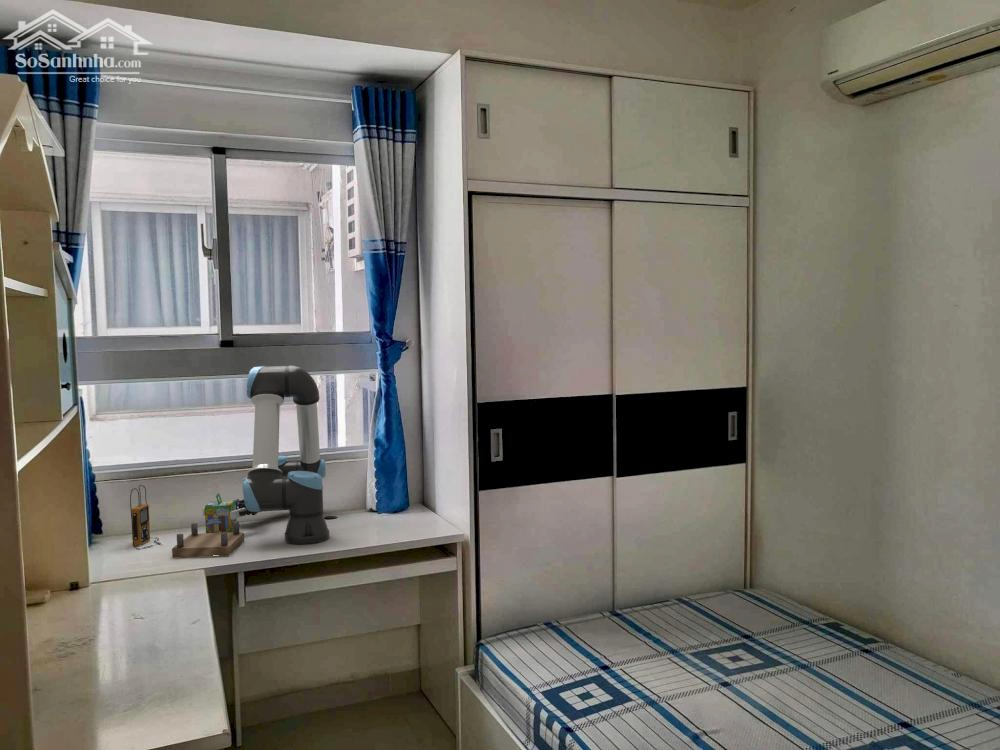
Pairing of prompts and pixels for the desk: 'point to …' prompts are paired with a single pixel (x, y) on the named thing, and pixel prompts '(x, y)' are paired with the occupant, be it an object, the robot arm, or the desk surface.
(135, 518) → the multimeter
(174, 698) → the desk surface
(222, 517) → the chalk box
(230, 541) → the peg stand
